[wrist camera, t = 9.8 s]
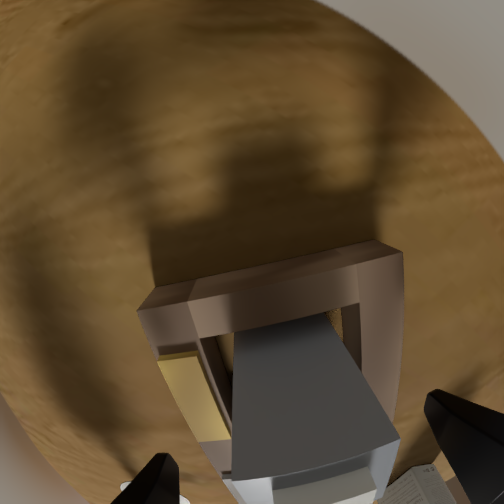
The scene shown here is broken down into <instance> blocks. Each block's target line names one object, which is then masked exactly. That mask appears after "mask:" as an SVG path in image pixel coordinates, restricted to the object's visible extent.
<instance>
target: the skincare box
mask: <svg viewBox="0 0 504 504" xmlns="http://www.w3.org/2000/svg"><path fill="white" fill-rule="evenodd" d="M377 502H378V504H457V503H456V501H455V499H454V498H453V496H452V494H451V492H450V491H449V489H448V487H447V486H446V484H445V482H444V480H443V479H442V477H441V475H440V474H439V472H438V470H437V468H436V467H435V465H434V464H427V465H420V466H415V467H412V468H410V469H409V470H408V471H407V472H406V473H405V474H403V475H402V476H401V477H400V478H399V479H397V480H396V481H395V482H393V483H392V484H391V485H390V486H388V487H387V488H386V489H385V492H384V494H383V497H382V498H380V499H377Z"/></svg>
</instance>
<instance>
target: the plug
mask: <svg viewBox="0 0 504 504" xmlns="http://www.w3.org/2000/svg"><path fill="white" fill-rule="evenodd" d="M400 440H401V438H400V436H399V434H398V433H397V431H396V429H395V428H394V426H393V424H392V422H391V421H390V419H389V417H388V416H387V414H386V412H385V411H384V409H383V407H382V406H381V404H380V402H379V401H378V399H377V397H376V396H375V394H374V392H373V391H372V389H371V387H370V386H369V384H368V382H367V381H366V379H365V378H364V376H363V374H362V373H361V371H360V369H359V368H358V366H357V365H356V363H355V361H354V360H353V358H352V357H351V355H350V353H349V352H348V350H347V349H346V347H345V345H344V344H343V342H342V341H341V339H340V337H339V336H338V334H337V333H336V331H335V330H334V328H333V326H332V325H331V323H330V322H329V320H328V319H327V317H326V315H325V314H324V312H322V313H318V314H314V315H310V316H306V317H302V318H298V319H294V320H289V321H285V322H281V323H276V324H272V325H267V326H262V327H258V328H253V329H248V330H243V331H238V332H234V357H233V398H232V461H231V482H232V483H233V485H234V486H235V488H236V489H237V491H238V492H239V494H240V495H241V496H242V498H243V499H244V501H245V502H246V503H247V504H373V501H374V500H377V499H380V498H382V497H383V494H384V492H385V489H386V486H387V483H388V480H389V477H390V474H391V471H392V468H393V465H394V462H395V458H396V455H397V451H398V448H399V444H400Z"/></svg>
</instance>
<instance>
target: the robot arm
mask: <svg viewBox="0 0 504 504" xmlns="http://www.w3.org/2000/svg"><path fill="white" fill-rule="evenodd" d="M424 413H425V415H426V418H427V420H428V422H429V424H430V427H431V429H432V431H433V434H434V436H435V438H436V440H437V443H438V445H439V446H440V448H441V450H442V452H443V453H444V455H445V457H446V458H447V460H448V462H449V464H450V465H451V467H452V469H453V471H454V473H455V474H456V476H457V478H458V480H459V482H460V483H461V485H462V487H463V489H464V491H465V493H466V495H467V496H468V498H469V500H470V502H471V504H504V414H503V413H500V412H497V411H494V410H492V409H489V408H486V407H484V406H481V405H478V404H476V403H473V402H470V401H468V400H465V399H463V398H460V397H458V396H455V395H453V394H450V393H448V392H445V391H443V390H440V389H435V390H433V391H431V392H429V393H428V394H427V397H426V401H425V405H424ZM111 504H180V490H179V467H178V465H177V463H176V462H175V461H174V459H173V458H172V457H171V455H170V454H169V453H157V454H156V455H155V456H154V457H153V458H152V459H151V460H150V461H149V462H148V464H147V465H146V466H145V467H144V468H143V469H142V470H141V471H140V472H139V474H138V475H137V476H136V477H135V478H134V479H133V480H132V481H131V482H130V483H129V485H128V486H127V487H126V488H125V489H124V490H123V491H122V492H121V493H120V494H119V495H118V496H117V497H116V498H115V499H114V500H113V501H112V503H111Z"/></svg>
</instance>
